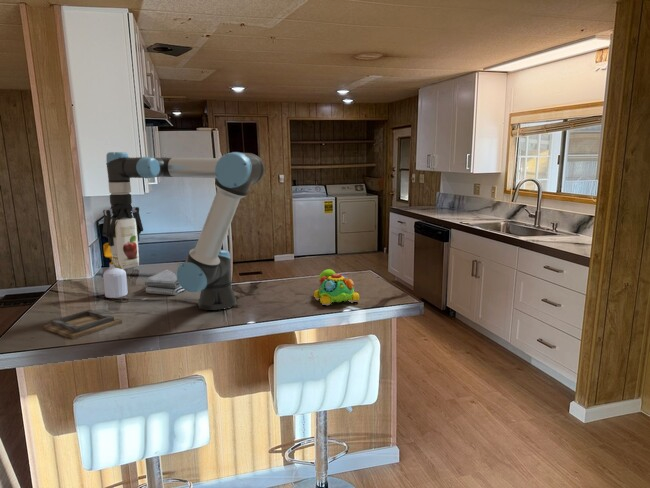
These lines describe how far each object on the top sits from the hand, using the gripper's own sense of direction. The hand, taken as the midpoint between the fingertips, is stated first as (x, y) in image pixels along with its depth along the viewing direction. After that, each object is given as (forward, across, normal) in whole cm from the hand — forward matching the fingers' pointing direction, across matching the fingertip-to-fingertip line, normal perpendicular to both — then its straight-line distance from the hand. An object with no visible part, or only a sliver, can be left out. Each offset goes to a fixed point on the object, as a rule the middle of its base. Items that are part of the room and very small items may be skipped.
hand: (125, 252), depth 175 cm
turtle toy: (+24, -54, +62) cm, 86 cm away
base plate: (+23, +20, +2) cm, 31 cm away
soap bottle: (+23, -9, -22) cm, 33 cm away
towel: (+24, -28, -9) cm, 38 cm away
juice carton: (+6, 0, 0) cm, 6 cm away
